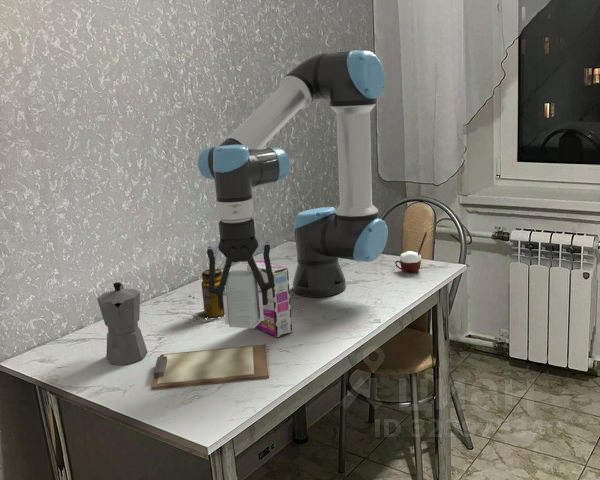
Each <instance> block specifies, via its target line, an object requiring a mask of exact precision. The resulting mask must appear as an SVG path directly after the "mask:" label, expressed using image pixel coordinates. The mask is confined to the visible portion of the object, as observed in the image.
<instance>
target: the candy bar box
mask: <svg viewBox="0 0 600 480" xmlns="http://www.w3.org/2000/svg"><path fill="white" fill-rule="evenodd" d="M255 263H256V265H257V267H258V269H259V271H260V273H261V275H262V277H263V279H264V281H265V283H267V282H268V277H267V272H266V267H265V262H264V259H263V260H258V261H255ZM270 263H271V262H270ZM271 268H272V273H273V278H274V283H275V287H274V288H271V289H269V290H268V291H267V298H268V304H267V305H263V315H264V321H261V322H260V323H259V324H258V325H257V326H256V327H255V328H254V329H257V330H260V331H262V332H264V333H266V334H268V335H269V336H272V337H275V338H281V337H284V336H287V335H289V334H292V333H293V323H292V310H291V309H292V308H291V293H290V279H289V268H287V267H284V266H281V265H278V264H276V263H275V264H274V263H271ZM246 269H247V270H246V271H252V270H251V268H250V266H249V264H248V263H247V264H246ZM257 286H258V289H261V288H260V286H259V284H258V282H257ZM258 297H259V296H258Z"/></svg>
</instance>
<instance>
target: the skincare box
mask: <svg viewBox="0 0 600 480" xmlns="http://www.w3.org/2000/svg"><path fill="white" fill-rule="evenodd" d="M225 292H226V296H227V307H228V318H229V324H228V327H229V328H241V329H242V328H243V329H256V328H255V327H256V326H257V325H258V324H259V323H260V322H261V321H260V308H259V297H258V286H257V280H256V278H255V276H254V274H253V272H252V271H248V270H237V269H236V270H233V269H232V270H230V271H229V274H228V277H227V281H226V284H225Z"/></svg>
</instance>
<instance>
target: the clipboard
mask: <svg viewBox="0 0 600 480" xmlns="http://www.w3.org/2000/svg"><path fill="white" fill-rule="evenodd" d="M156 359H157V360H156V363H155V366H154V370H153V381H152V384H151V390H154V391H155V390H162V389H173V388H182V387H192V386H193V387H194V386H202V385H213V384H221V383H223V384H225V383H233V382H240V381H241V382H243V381H251V380H252V381H253V380H261V379H270V375H269V366H268V356H267V346H266V343H265V344H255V345H245V346H234V347H233V346H232V347H226V348H225V347H223V348H214V349H206V350H205V349H203V350H191V351H184V352H183V351H181V352H173V353H164V354H163V353H162V354H160V355H159V356H157V357H156Z"/></svg>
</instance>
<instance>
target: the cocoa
mask: <svg viewBox="0 0 600 480" xmlns="http://www.w3.org/2000/svg"><path fill="white" fill-rule="evenodd" d="M427 234H428V232H427V231H424V235H423V237H422V240H421V243H420V246H419V248H418V251H417V252H415V251H412V250H411V251H410V250H407V251H405V252H402V253H401V254H400V259H399V260H397V261H395V262H394V263H395V266H396V268H397V269H399V270H401V271H403V272H404V273H406V274H415V273H417V272H419V270H420V268H421V266H422V265H421V264H422V256H421V254H420V253H421V250H422V248H423V245H424V243H425V240H426V238H427ZM397 263H399V265H400V266H399V265H398V264H397Z"/></svg>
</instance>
